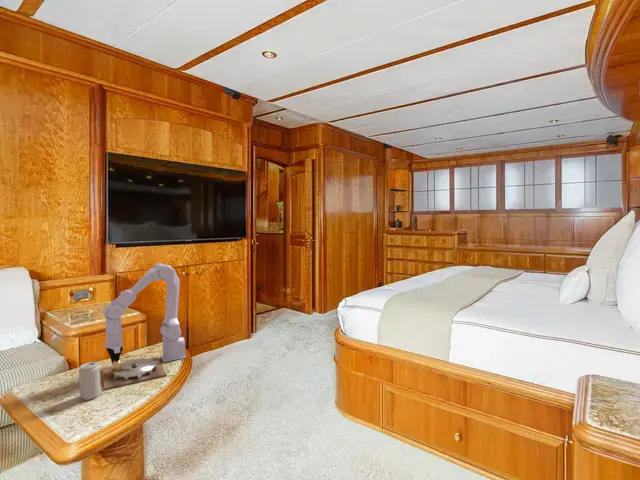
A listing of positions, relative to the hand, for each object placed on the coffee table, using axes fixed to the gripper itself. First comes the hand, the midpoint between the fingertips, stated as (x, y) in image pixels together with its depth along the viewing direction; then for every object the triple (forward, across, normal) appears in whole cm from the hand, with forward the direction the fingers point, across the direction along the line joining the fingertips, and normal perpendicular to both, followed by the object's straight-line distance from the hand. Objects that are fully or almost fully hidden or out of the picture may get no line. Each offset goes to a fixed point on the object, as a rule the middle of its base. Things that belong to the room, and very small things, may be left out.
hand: (115, 364), depth 153 cm
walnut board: (+4, +5, +6) cm, 9 cm away
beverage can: (+4, +16, -10) cm, 20 cm away
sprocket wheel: (+2, +5, +7) cm, 8 cm away
